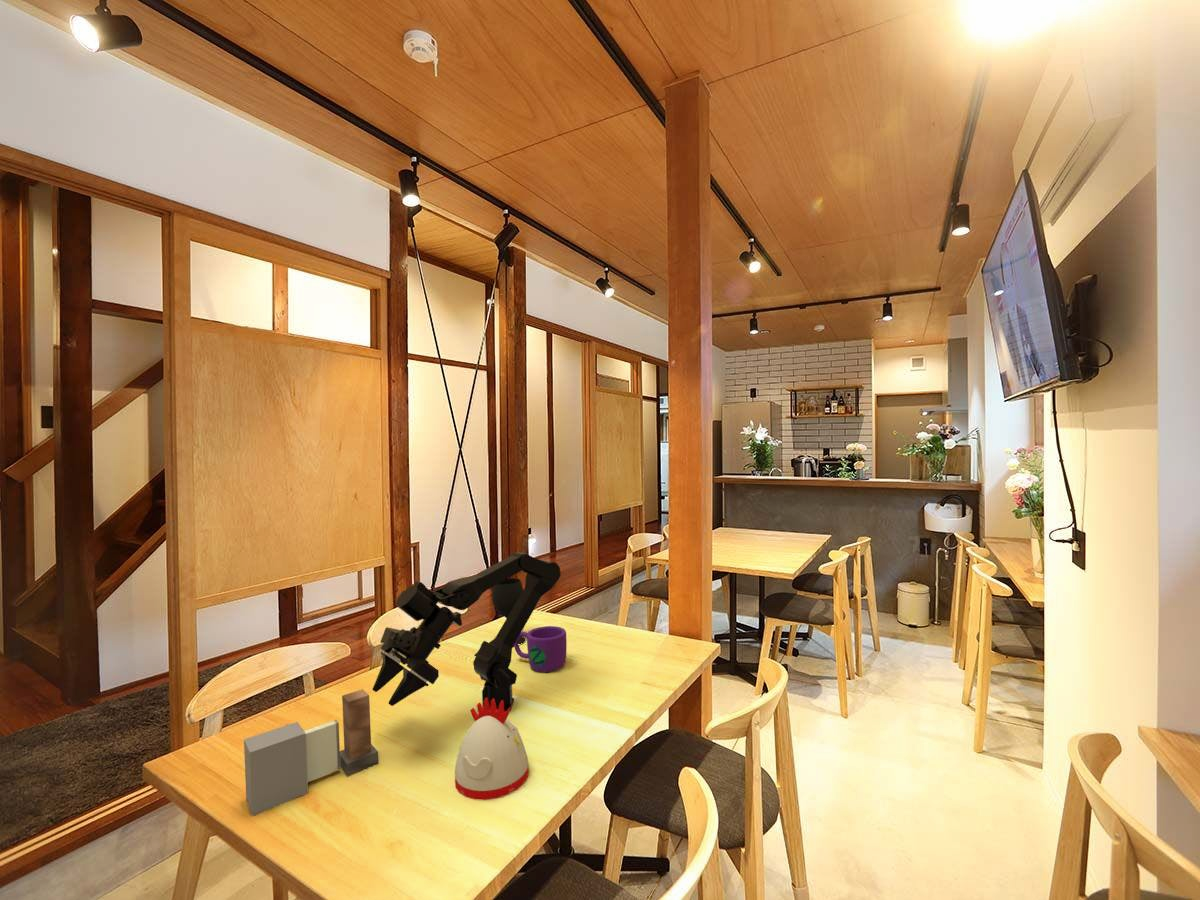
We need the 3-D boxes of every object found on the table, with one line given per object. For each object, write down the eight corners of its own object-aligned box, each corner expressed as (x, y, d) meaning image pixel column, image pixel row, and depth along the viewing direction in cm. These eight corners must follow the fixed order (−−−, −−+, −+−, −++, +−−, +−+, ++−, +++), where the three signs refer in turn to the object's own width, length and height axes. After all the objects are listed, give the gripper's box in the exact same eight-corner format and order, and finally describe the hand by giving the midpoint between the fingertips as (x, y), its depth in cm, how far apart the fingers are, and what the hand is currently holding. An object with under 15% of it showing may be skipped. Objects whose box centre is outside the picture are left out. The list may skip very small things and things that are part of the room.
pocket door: (338, 765, 107) (336, 719, 107) (340, 768, 106) (338, 722, 106) (293, 783, 101) (291, 735, 101) (295, 787, 100) (293, 738, 100)
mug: (574, 661, 157) (573, 628, 157) (554, 677, 147) (552, 641, 147) (525, 654, 165) (524, 621, 165) (503, 668, 155) (501, 633, 155)
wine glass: (511, 649, 169) (508, 586, 169) (486, 644, 174) (484, 583, 174) (532, 639, 177) (529, 579, 177) (508, 634, 183) (506, 576, 183)
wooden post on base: (368, 752, 113) (365, 686, 113) (378, 763, 108) (375, 694, 108) (338, 764, 109) (335, 695, 109) (347, 776, 104) (344, 705, 104)
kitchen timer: (509, 805, 94) (506, 720, 94) (440, 794, 98) (437, 712, 98) (539, 760, 108) (536, 685, 108) (477, 752, 111) (475, 680, 111)
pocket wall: (299, 778, 104) (297, 721, 104) (307, 793, 100) (305, 733, 100) (246, 799, 98) (243, 739, 98) (252, 816, 94) (249, 752, 94)
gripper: (388, 604, 123) (338, 666, 115) (422, 621, 109) (368, 693, 101) (422, 630, 128) (376, 691, 121) (459, 649, 114) (410, 719, 107)
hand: (381, 697), depth 112 cm, fingers open, 9 cm apart
